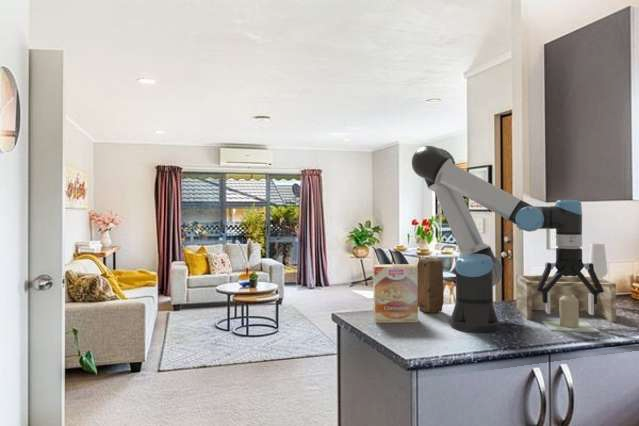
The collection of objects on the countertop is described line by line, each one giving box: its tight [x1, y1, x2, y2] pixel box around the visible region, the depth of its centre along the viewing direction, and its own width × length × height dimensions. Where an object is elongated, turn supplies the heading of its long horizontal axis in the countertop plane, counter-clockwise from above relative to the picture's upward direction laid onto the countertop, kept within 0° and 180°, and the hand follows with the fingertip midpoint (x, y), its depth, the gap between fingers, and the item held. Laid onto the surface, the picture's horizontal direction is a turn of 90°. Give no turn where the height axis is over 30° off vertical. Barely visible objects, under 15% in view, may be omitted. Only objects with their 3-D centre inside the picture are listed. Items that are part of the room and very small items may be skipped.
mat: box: [541, 320, 600, 334], centre depth 154 cm, size 14×11×1 cm
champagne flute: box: [588, 243, 609, 279], centre depth 188 cm, size 7×7×24 cm
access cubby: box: [515, 274, 617, 323], centre depth 171 cm, size 28×18×13 cm, turn 78°
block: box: [416, 257, 445, 314], centre depth 180 cm, size 11×8×20 cm
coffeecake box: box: [372, 263, 419, 324], centre depth 166 cm, size 15×7×20 cm, turn 88°
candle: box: [558, 294, 580, 328], centre depth 154 cm, size 6×6×10 cm
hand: (569, 313), depth 154 cm, fingers open, 12 cm apart
